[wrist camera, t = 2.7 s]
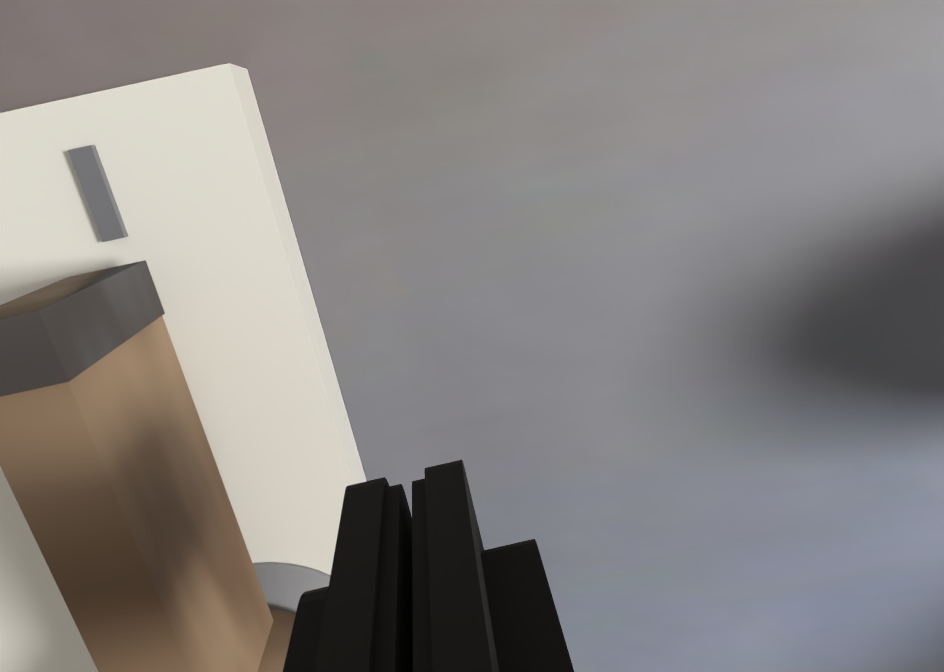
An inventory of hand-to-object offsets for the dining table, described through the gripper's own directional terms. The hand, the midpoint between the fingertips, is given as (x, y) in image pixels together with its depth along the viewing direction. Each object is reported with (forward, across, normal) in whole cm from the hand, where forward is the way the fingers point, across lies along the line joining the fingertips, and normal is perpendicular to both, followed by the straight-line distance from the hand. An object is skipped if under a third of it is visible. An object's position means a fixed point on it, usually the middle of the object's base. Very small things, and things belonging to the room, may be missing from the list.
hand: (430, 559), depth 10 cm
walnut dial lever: (+7, +6, +3) cm, 9 cm away
